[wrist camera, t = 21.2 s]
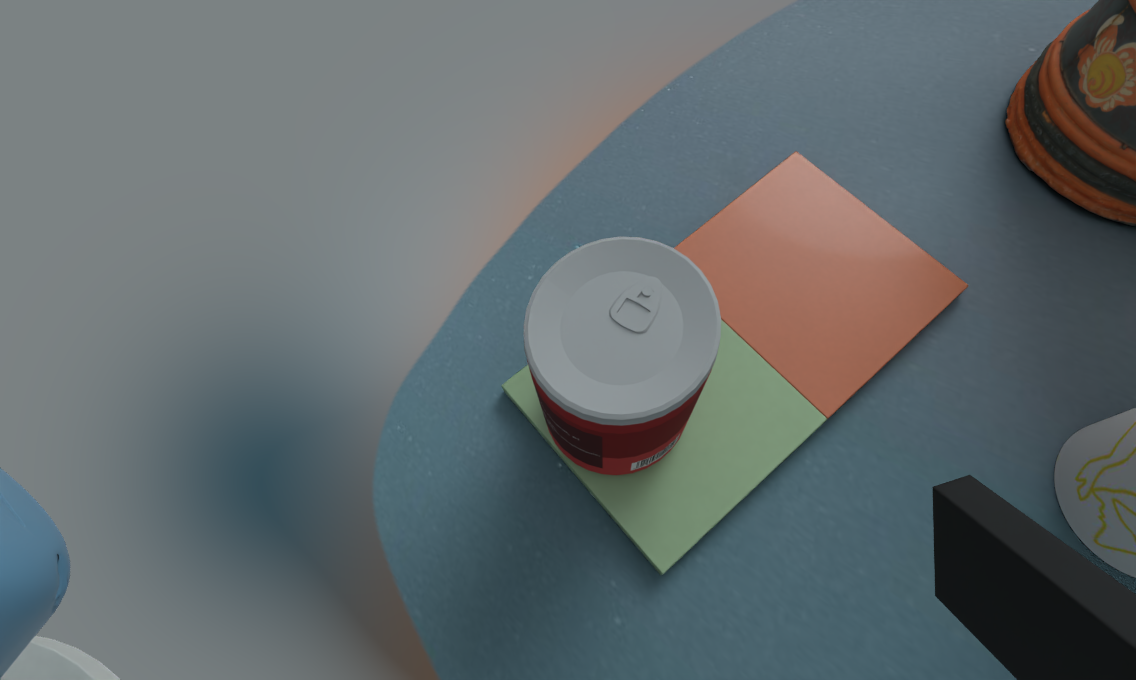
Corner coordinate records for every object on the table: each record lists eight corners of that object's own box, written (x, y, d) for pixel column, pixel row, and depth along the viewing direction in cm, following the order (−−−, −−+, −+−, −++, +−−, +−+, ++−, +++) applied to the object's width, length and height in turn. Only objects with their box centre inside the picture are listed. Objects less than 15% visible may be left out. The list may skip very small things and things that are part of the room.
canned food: (703, 360, 35) (743, 259, 25) (665, 499, 33) (694, 449, 22) (572, 323, 37) (560, 213, 27) (525, 454, 34) (492, 387, 24)
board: (661, 575, 32) (662, 574, 31) (503, 390, 36) (500, 385, 35) (960, 293, 37) (969, 285, 36) (791, 160, 42) (796, 150, 41)
